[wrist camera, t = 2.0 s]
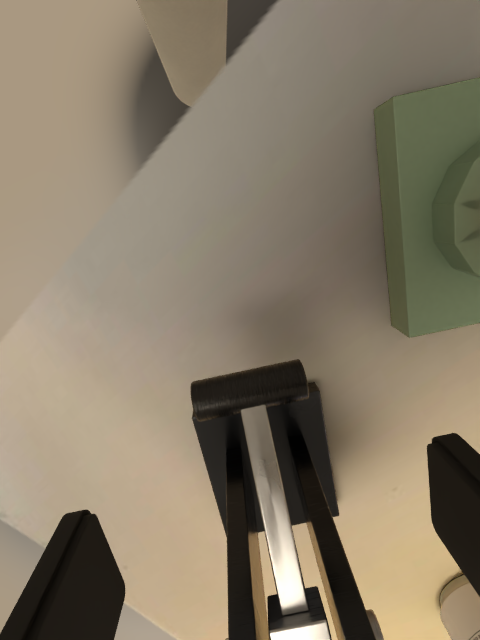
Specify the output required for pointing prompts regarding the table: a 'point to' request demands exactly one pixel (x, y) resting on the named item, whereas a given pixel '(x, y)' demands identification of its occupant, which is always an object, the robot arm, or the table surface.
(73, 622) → the robot arm
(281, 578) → the lever
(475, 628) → the energy drink can
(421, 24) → the table surface
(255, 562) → the bracket
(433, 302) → the button box
